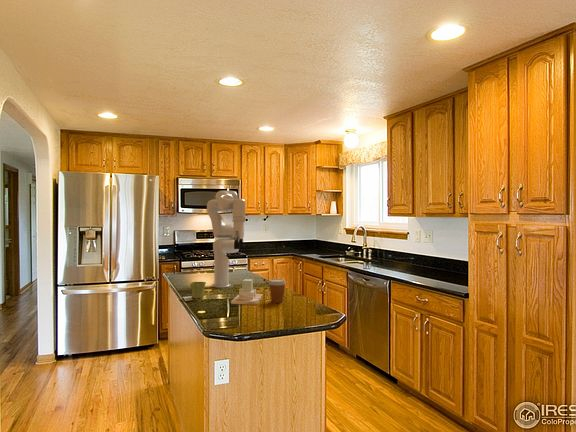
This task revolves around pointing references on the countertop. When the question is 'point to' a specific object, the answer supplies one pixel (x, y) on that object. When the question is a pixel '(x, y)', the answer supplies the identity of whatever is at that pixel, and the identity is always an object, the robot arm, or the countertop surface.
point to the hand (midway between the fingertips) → (238, 248)
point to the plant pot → (197, 289)
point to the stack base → (249, 301)
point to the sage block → (247, 285)
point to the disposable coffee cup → (277, 290)
